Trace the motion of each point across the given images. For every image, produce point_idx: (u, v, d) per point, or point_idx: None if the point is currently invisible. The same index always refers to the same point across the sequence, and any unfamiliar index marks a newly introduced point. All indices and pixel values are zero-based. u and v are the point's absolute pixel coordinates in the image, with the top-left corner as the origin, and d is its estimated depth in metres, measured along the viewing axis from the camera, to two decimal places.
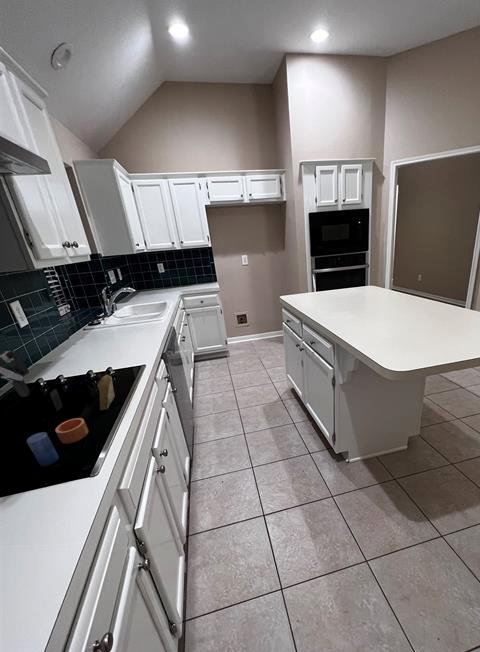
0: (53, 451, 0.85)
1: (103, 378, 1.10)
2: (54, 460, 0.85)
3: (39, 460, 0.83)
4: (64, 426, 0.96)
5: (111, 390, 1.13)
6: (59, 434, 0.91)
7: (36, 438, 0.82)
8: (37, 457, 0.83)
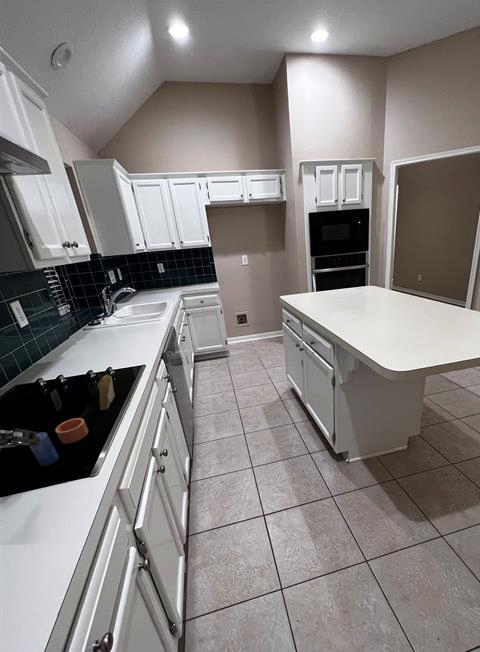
0: (53, 451, 0.85)
1: (103, 378, 1.10)
2: (54, 460, 0.85)
3: (39, 460, 0.83)
4: (64, 426, 0.96)
5: (111, 390, 1.13)
6: (59, 434, 0.91)
7: None
8: (37, 457, 0.83)
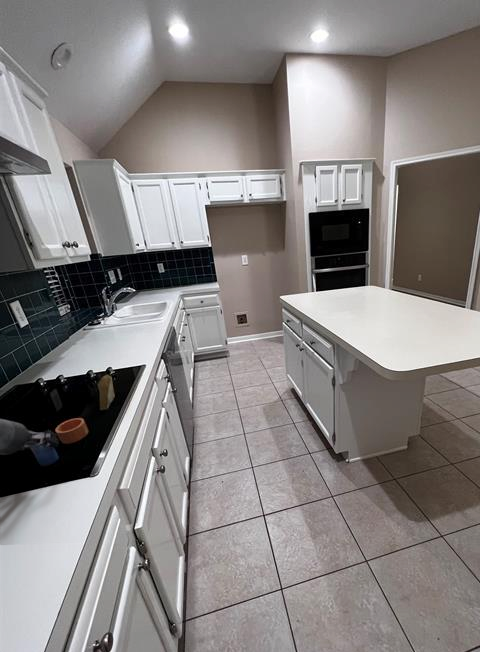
0: (53, 451, 0.85)
1: (103, 378, 1.10)
2: (54, 460, 0.85)
3: (39, 460, 0.83)
4: (64, 426, 0.96)
5: (111, 390, 1.13)
6: (59, 434, 0.91)
7: None
8: (37, 457, 0.83)
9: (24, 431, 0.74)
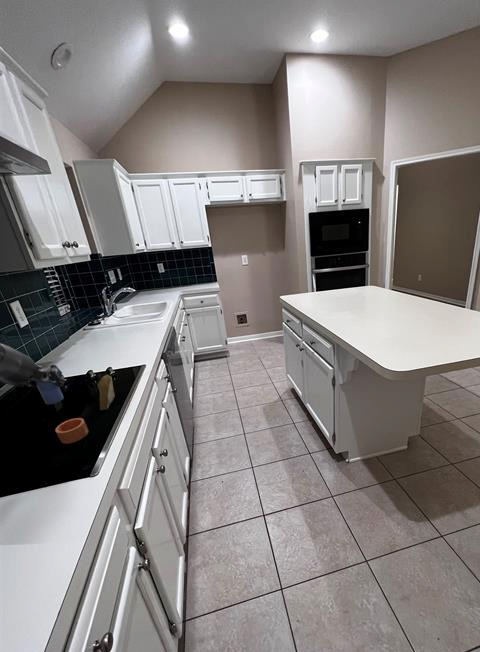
0: (58, 390, 0.88)
1: (103, 378, 1.10)
2: (59, 399, 0.88)
3: (45, 398, 0.86)
4: (64, 426, 0.96)
5: (111, 390, 1.13)
6: (59, 434, 0.91)
7: None
8: (43, 394, 0.86)
9: (31, 362, 0.77)
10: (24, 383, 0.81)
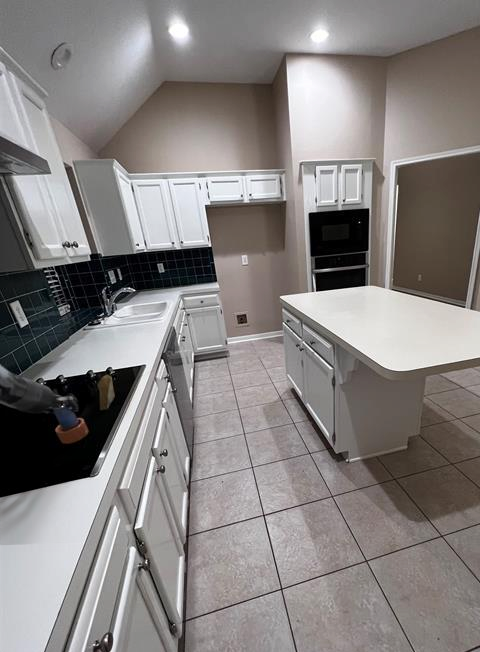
0: (73, 416, 0.93)
1: (103, 378, 1.10)
2: (75, 424, 0.93)
3: (61, 423, 0.91)
4: None
5: (111, 390, 1.13)
6: (59, 434, 0.91)
7: None
8: (60, 420, 0.91)
9: (50, 392, 0.82)
10: (42, 411, 0.86)
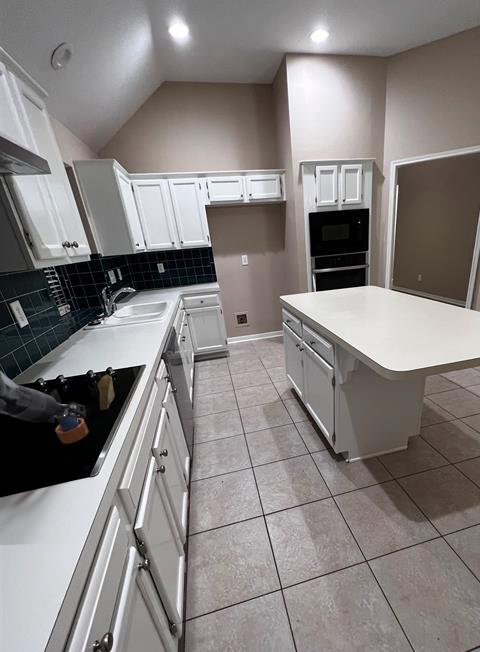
0: None
1: (103, 378, 1.10)
2: None
3: None
4: None
5: (111, 390, 1.13)
6: (59, 434, 0.91)
7: (64, 413, 0.92)
8: (64, 430, 0.92)
9: (54, 402, 0.83)
10: None
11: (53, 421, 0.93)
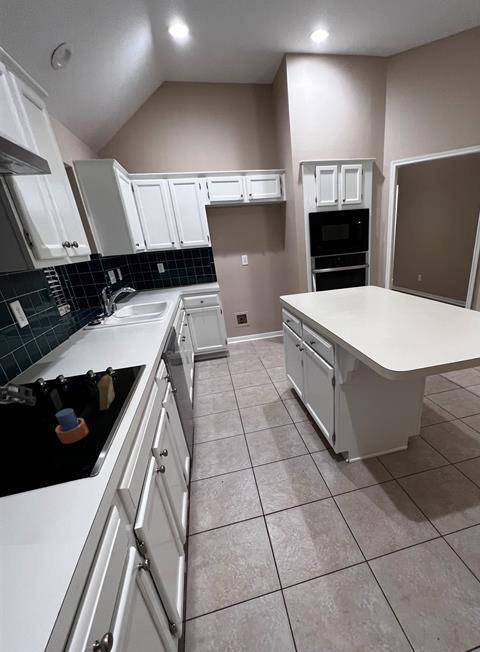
0: None
1: (103, 378, 1.10)
2: None
3: None
4: None
5: (111, 390, 1.13)
6: (59, 434, 0.91)
7: (64, 413, 0.92)
8: (64, 430, 0.92)
9: None
10: None
11: None
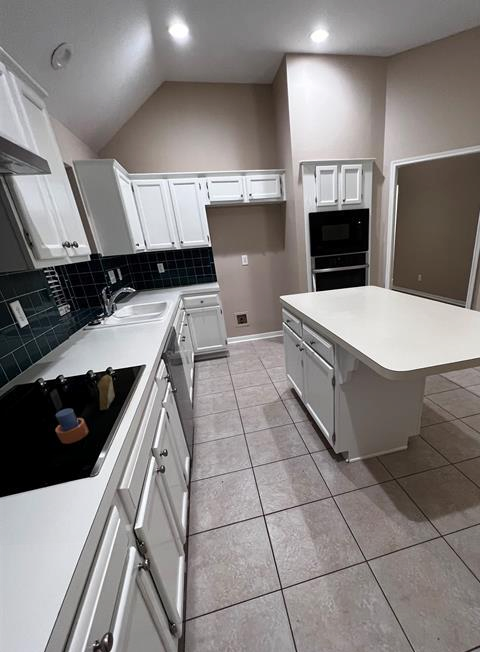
0: None
1: (103, 378, 1.10)
2: None
3: None
4: None
5: (111, 390, 1.13)
6: (59, 434, 0.91)
7: (64, 413, 0.92)
8: (64, 430, 0.92)
9: None
10: None
11: None
